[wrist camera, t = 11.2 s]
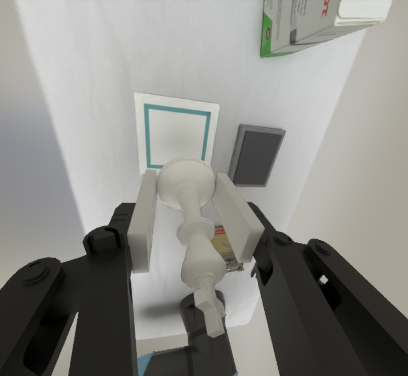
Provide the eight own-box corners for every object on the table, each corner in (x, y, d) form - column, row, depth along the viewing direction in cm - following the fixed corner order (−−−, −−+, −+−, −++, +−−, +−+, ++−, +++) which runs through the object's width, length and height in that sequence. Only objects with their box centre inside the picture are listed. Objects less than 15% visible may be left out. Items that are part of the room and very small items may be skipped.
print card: (208, 175, 30) (208, 176, 29) (140, 173, 27) (139, 174, 27) (219, 104, 24) (220, 104, 24) (134, 91, 21) (133, 91, 21)
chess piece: (198, 144, 12) (268, 265, 4) (223, 190, 15) (297, 323, 6) (143, 175, 12) (91, 350, 4) (177, 215, 15) (188, 370, 7)
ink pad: (262, 184, 33) (266, 188, 32) (226, 183, 31) (229, 187, 30) (281, 129, 28) (287, 131, 27) (239, 124, 26) (243, 126, 25)
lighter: (234, 224, 38) (252, 262, 30) (232, 235, 40) (249, 273, 32) (204, 228, 37) (215, 268, 28) (204, 239, 39) (214, 280, 30)
